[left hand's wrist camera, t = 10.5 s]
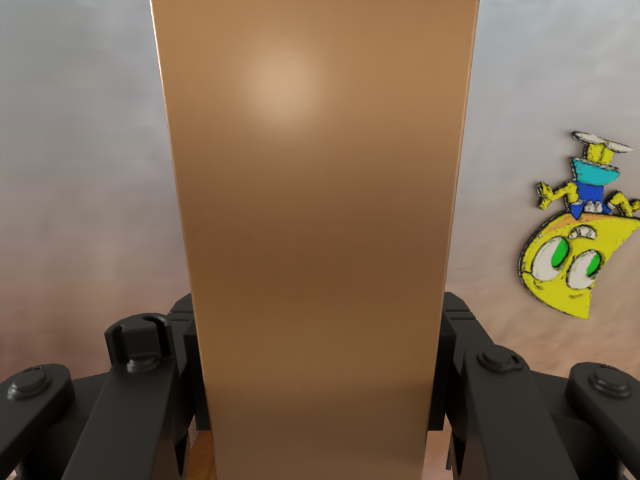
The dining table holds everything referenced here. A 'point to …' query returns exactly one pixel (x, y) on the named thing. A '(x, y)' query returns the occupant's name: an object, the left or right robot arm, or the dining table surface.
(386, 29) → the beam
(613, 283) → the dining table surface
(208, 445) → the disposable coffee cup
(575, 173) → the toy
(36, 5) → the dining table surface
